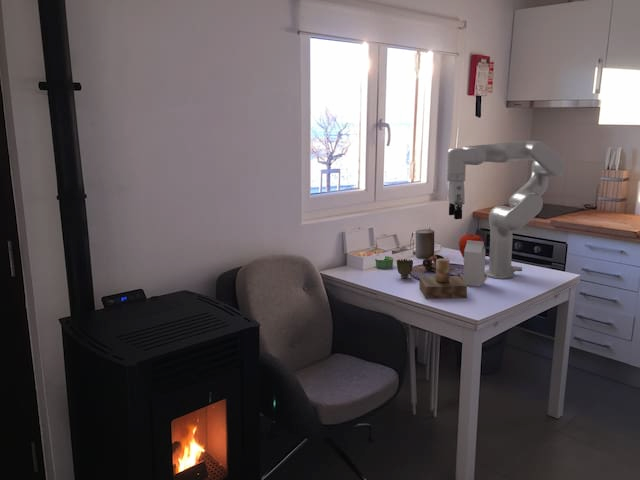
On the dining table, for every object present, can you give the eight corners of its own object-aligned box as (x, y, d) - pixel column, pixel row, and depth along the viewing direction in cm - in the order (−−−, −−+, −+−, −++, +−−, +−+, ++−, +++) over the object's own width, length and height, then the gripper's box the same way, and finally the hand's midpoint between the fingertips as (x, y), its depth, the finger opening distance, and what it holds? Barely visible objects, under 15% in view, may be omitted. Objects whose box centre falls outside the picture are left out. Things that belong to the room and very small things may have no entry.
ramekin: (397, 267, 264) (397, 258, 263) (383, 270, 259) (383, 261, 258) (384, 263, 271) (384, 254, 270) (371, 266, 266) (371, 257, 265)
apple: (453, 259, 274) (453, 232, 270) (471, 256, 279) (472, 229, 276) (470, 265, 263) (471, 237, 260) (488, 261, 268) (489, 234, 265)
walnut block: (458, 287, 230) (458, 275, 229) (466, 297, 216) (467, 285, 215) (419, 288, 230) (419, 276, 229) (425, 298, 216) (425, 286, 215)
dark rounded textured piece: (412, 280, 241) (412, 263, 240) (396, 279, 243) (396, 262, 241) (413, 275, 249) (413, 258, 247) (397, 275, 250) (397, 258, 248)
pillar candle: (437, 256, 282) (438, 227, 279) (427, 259, 275) (427, 230, 272) (422, 253, 288) (422, 226, 285) (411, 257, 281) (411, 229, 278)
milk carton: (479, 287, 229) (481, 243, 225) (463, 285, 233) (464, 242, 229) (484, 282, 235) (485, 240, 231) (468, 280, 239) (469, 238, 234)
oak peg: (447, 289, 226) (447, 258, 223) (450, 293, 220) (450, 261, 217) (434, 289, 226) (434, 258, 223) (437, 293, 220) (437, 261, 217)
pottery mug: (434, 266, 265) (442, 253, 261) (443, 279, 258) (452, 266, 254) (415, 264, 259) (423, 250, 255) (424, 277, 252) (433, 263, 248)
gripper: (470, 179, 222) (469, 220, 226) (459, 175, 239) (458, 213, 243) (452, 180, 222) (451, 220, 226) (442, 175, 239) (442, 213, 243)
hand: (455, 217), depth 234 cm, fingers open, 9 cm apart
